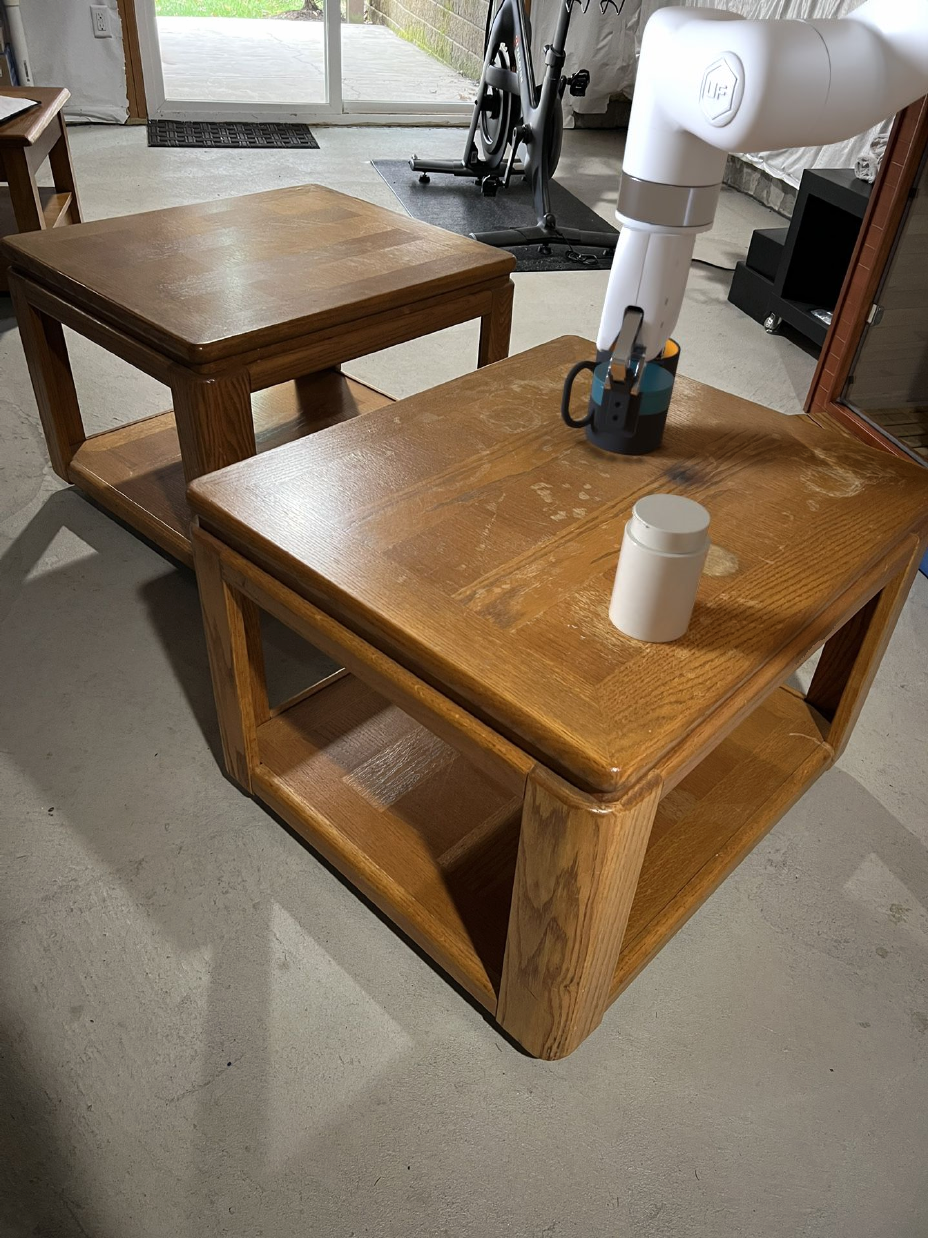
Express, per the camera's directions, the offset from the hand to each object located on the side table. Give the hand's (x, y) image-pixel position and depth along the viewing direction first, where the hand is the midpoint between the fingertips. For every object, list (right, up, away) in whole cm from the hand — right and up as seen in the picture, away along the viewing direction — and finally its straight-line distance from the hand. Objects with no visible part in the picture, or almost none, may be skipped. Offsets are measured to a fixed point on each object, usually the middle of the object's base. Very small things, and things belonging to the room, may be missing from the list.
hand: (627, 414), depth 82 cm
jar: (0, -18, -7) cm, 19 cm away
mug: (+1, +1, +18) cm, 18 cm away
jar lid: (0, +3, -2) cm, 3 cm away
